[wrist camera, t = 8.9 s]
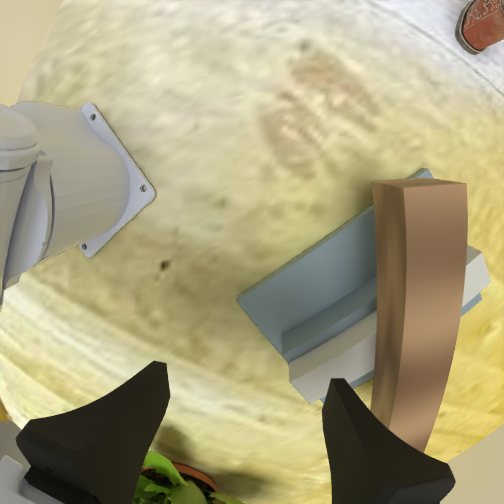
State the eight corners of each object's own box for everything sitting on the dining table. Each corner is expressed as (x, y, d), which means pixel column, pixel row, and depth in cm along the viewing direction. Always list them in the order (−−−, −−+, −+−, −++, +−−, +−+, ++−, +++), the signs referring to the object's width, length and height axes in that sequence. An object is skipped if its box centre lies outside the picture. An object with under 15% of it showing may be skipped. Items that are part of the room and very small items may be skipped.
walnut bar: (403, 429, 18) (417, 467, 14) (366, 437, 18) (376, 478, 14) (423, 177, 13) (466, 183, 9) (371, 181, 14) (403, 188, 10)
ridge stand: (322, 396, 24) (330, 442, 19) (238, 295, 22) (226, 335, 16) (476, 294, 20) (511, 323, 15) (422, 168, 18) (464, 171, 13)
